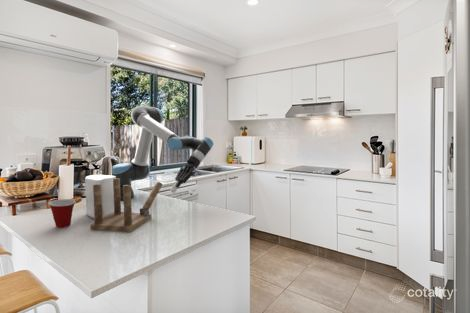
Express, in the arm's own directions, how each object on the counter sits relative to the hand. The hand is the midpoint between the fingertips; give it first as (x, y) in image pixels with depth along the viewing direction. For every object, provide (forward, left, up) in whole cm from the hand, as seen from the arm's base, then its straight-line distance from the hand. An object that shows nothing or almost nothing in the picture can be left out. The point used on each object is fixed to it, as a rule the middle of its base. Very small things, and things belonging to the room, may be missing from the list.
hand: (172, 191), depth 147 cm
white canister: (+22, -33, -13) cm, 42 cm away
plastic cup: (+41, -31, -12) cm, 53 cm away
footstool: (+25, -9, -12) cm, 30 cm away
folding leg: (+16, -5, -8) cm, 18 cm away
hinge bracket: (+16, -5, -10) cm, 19 cm away
